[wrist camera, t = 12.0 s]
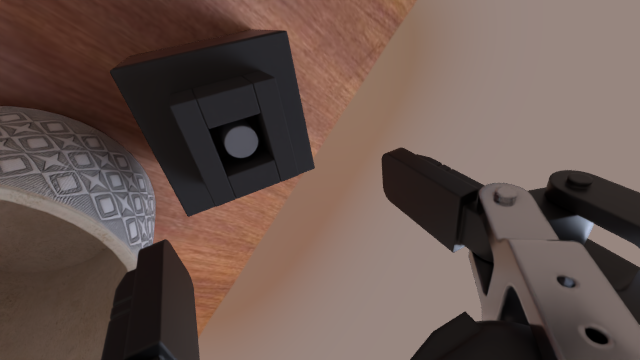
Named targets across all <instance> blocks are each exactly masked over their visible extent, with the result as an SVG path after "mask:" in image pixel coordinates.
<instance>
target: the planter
mask: <svg viewBox="0 0 640 360" xmlns="http://www.w3.org/2000/svg"><path fill="white" fill-rule="evenodd" d="M155 208H156V201H155V196H154V190H153V187H152V185H151V182H150V180H149V177H148V176H147V174H146V173H145V171H144V169H143V168H142V166H141V165H140V164H139V162H138V161H137V160H136V159H135V158H134V157H133V156H132V154H131V153H130V152H128V151H127V150H126V149H125V148H124V147H123V146H121V145H120V144H119V143H118V142H117V141H115V140H113V139H112V138H110V137H109V136H107V135H106V134H104V133H103V132H101V131H99V130H97V129H95V128H93V127H91V126H89V125H87V124H84V123H82V122H80V121H77V120H74V119H71V118H68V117H65V116H63V115H60V114H55V113H51V112H46V111H42V110H38V109H31V108H22V107H13V106H0V360H101V357H102V352H103V347H104V343H105V338H106V333H107V328H108V324H109V321H111V319H110V314H111V309H112V307H113V300H114V295H115V290H116V288H117V286H118V285H119V283H120V282H121V280H122V278H123V277H124V275H125V274H126V272H129V271H131V270H134V269H136V266H137V259H138V252H139V250H140V249H142V248H145V247H147V246H150V245H152V244H153V237H154V225H155Z"/></svg>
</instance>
